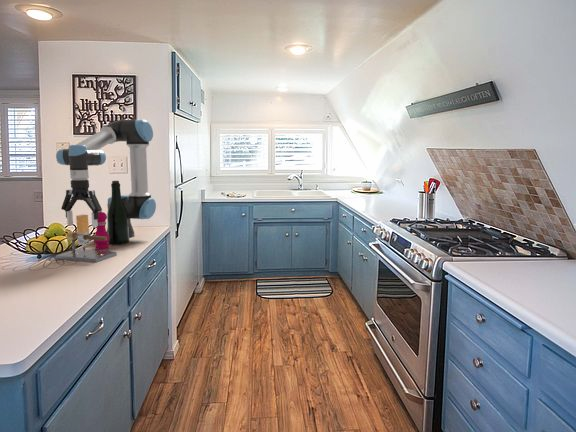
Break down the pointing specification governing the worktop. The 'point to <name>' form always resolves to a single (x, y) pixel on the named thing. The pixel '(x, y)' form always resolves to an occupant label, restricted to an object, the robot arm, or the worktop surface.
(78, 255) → the bolt plate
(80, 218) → the block
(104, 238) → the wooden rod with block
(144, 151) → the robot arm
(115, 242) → the beer bottle
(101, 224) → the pepper mill
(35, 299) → the worktop surface
